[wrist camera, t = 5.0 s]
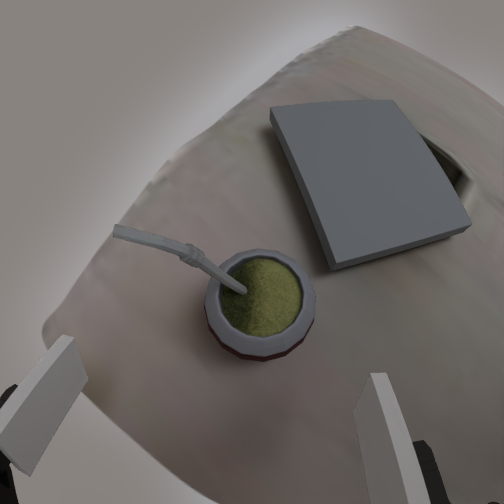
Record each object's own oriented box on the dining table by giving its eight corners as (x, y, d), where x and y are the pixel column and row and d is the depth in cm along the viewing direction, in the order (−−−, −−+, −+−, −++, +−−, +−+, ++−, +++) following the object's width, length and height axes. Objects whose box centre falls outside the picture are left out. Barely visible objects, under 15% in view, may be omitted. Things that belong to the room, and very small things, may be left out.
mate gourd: (318, 327, 23) (403, 257, 10) (240, 387, 22) (221, 408, 8) (263, 259, 26) (273, 128, 12) (186, 313, 24) (107, 227, 10)
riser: (455, 239, 27) (472, 223, 23) (326, 277, 25) (336, 263, 22) (384, 119, 34) (392, 100, 30) (269, 130, 32) (270, 107, 29)
